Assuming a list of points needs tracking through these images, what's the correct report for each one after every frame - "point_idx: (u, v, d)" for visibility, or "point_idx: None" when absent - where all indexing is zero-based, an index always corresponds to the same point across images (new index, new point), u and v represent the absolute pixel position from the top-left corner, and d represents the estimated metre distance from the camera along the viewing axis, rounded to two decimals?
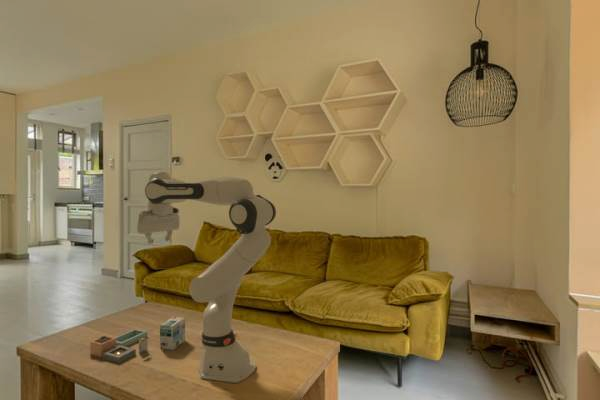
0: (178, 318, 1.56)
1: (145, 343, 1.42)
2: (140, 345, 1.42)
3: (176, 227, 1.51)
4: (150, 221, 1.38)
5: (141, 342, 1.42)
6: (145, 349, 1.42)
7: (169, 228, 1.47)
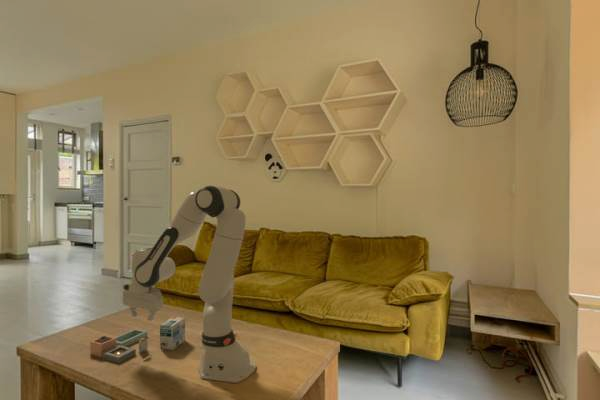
0: (178, 318, 1.56)
1: (145, 343, 1.42)
2: (140, 345, 1.42)
3: None
4: None
5: (141, 342, 1.42)
6: (145, 349, 1.42)
7: None
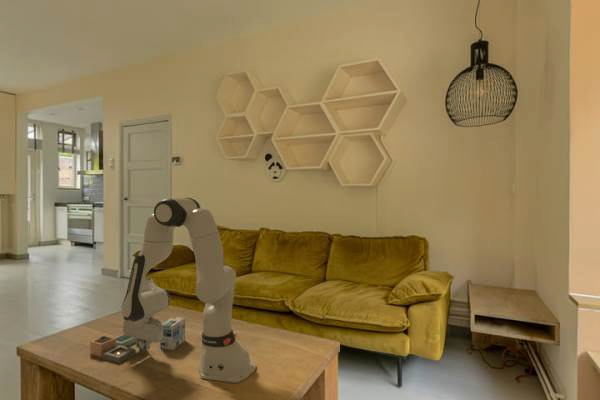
0: (178, 318, 1.56)
1: (145, 343, 1.42)
2: (140, 345, 1.42)
3: None
4: None
5: (141, 342, 1.42)
6: None
7: None
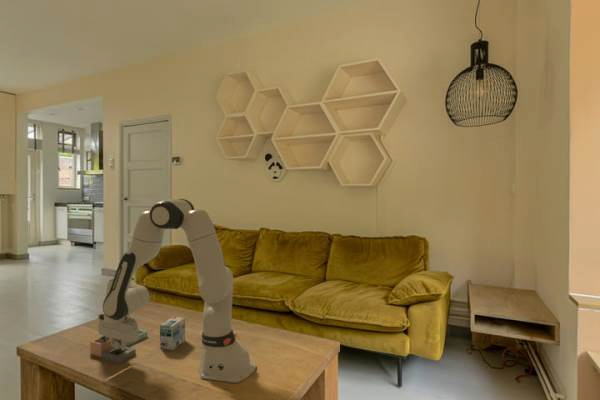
0: (178, 318, 1.56)
1: (120, 343, 1.38)
2: (115, 345, 1.38)
3: None
4: None
5: (116, 342, 1.37)
6: None
7: None
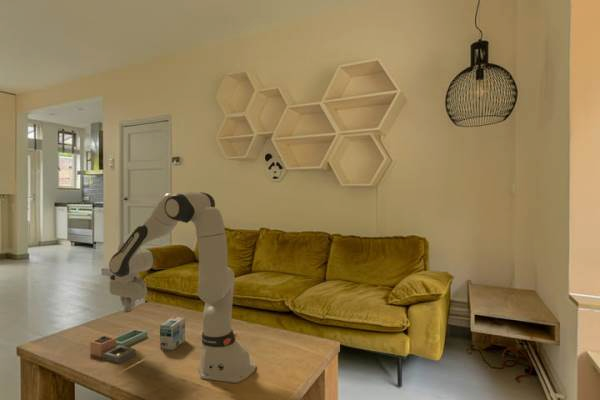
0: (178, 318, 1.56)
1: (130, 301, 1.53)
2: (125, 303, 1.52)
3: None
4: None
5: (126, 300, 1.52)
6: (130, 307, 1.53)
7: None
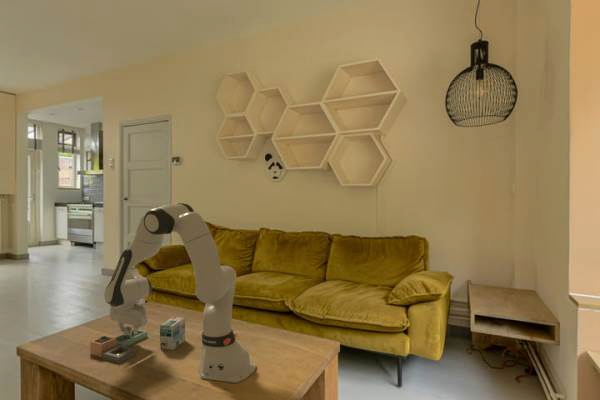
0: (178, 318, 1.56)
1: (130, 331, 1.53)
2: (125, 333, 1.52)
3: None
4: None
5: (126, 330, 1.52)
6: (130, 336, 1.53)
7: None
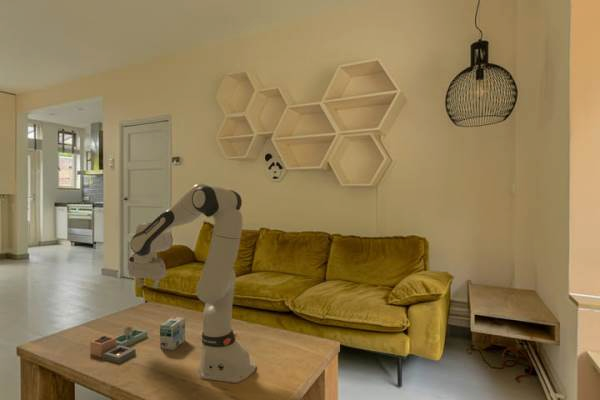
0: (178, 318, 1.56)
1: (130, 331, 1.53)
2: (125, 333, 1.52)
3: None
4: None
5: (126, 330, 1.52)
6: (130, 336, 1.53)
7: None
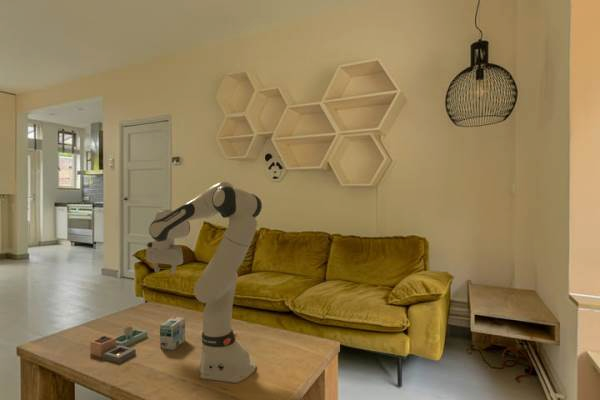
0: (178, 318, 1.56)
1: (130, 331, 1.53)
2: (125, 332, 1.52)
3: None
4: None
5: (126, 330, 1.52)
6: (130, 336, 1.53)
7: None
